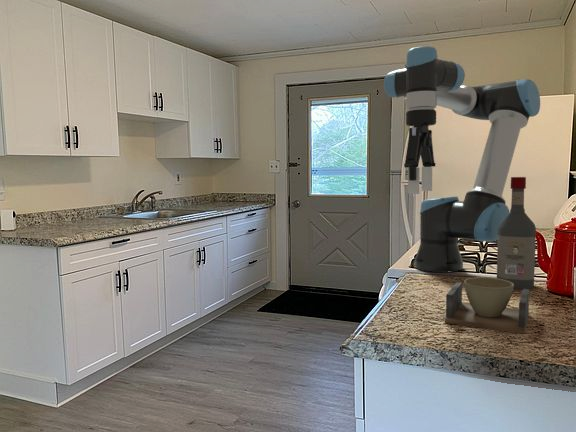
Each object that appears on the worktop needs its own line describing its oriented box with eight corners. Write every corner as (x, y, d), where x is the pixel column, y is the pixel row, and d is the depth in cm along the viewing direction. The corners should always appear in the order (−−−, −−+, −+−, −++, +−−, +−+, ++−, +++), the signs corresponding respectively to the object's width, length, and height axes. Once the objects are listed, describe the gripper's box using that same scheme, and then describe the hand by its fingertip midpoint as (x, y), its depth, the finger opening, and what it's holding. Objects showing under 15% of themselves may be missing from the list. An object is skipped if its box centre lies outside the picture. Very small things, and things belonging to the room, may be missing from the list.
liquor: (533, 291, 126) (537, 177, 123) (495, 288, 130) (498, 177, 127) (534, 283, 134) (537, 176, 131) (498, 280, 138) (501, 176, 135)
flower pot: (518, 322, 99) (519, 288, 98) (467, 320, 101) (468, 287, 100) (506, 308, 109) (507, 277, 108) (460, 306, 111) (461, 276, 110)
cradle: (457, 305, 115) (457, 281, 114) (528, 314, 107) (529, 288, 107) (445, 322, 103) (445, 295, 102) (524, 333, 95) (525, 304, 95)
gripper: (418, 114, 136) (418, 189, 138) (392, 106, 114) (392, 194, 117) (446, 113, 132) (445, 189, 134) (423, 103, 111) (423, 195, 113)
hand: (420, 192), depth 125 cm, fingers open, 13 cm apart
